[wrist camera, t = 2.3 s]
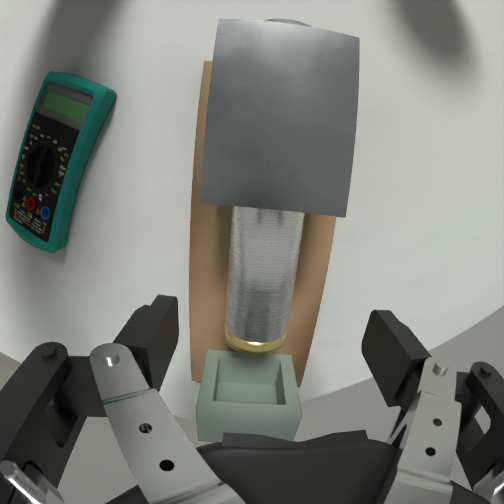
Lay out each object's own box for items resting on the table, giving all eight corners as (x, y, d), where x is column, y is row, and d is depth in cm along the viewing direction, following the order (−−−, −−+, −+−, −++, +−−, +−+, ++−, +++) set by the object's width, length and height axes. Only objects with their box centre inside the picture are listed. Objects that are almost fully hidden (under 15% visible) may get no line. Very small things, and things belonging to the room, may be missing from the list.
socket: (208, 382, 24) (198, 440, 17) (207, 349, 23) (195, 409, 16) (284, 387, 24) (291, 445, 18) (291, 354, 23) (302, 415, 16)
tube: (226, 319, 20) (221, 353, 16) (249, 43, 14) (249, 15, 11) (281, 323, 20) (287, 357, 17) (312, 50, 14) (327, 26, 11)
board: (194, 370, 25) (191, 380, 24) (207, 67, 17) (204, 60, 16) (297, 376, 26) (299, 387, 24) (343, 82, 18) (349, 77, 16)
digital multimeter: (18, 219, 21) (-1, 227, 18) (63, 73, 17) (44, 67, 14) (67, 252, 22) (49, 263, 19) (123, 91, 18) (106, 84, 15)
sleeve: (217, 188, 19) (199, 203, 12) (229, 61, 16) (218, 18, 10) (315, 198, 19) (345, 217, 13) (326, 72, 16) (359, 37, 10)
